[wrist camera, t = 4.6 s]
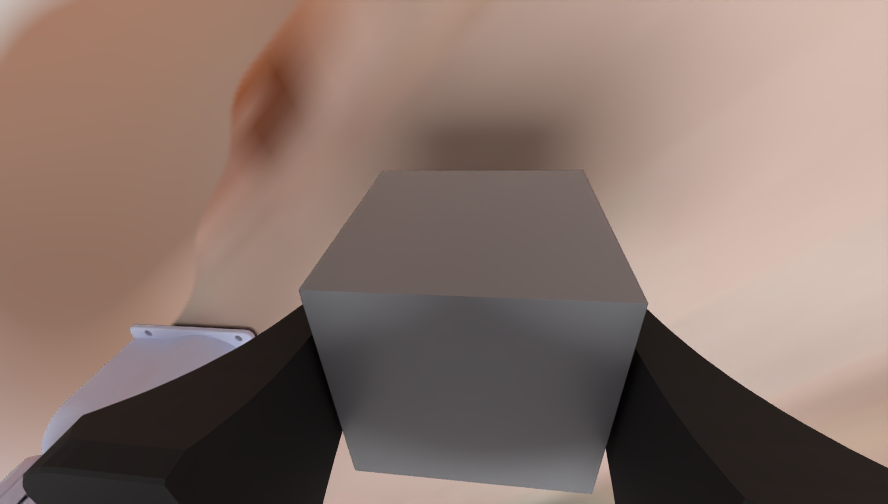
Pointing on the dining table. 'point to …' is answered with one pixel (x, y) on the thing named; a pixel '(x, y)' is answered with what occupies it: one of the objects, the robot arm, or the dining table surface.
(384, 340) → the grey cube
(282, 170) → the dining table surface
